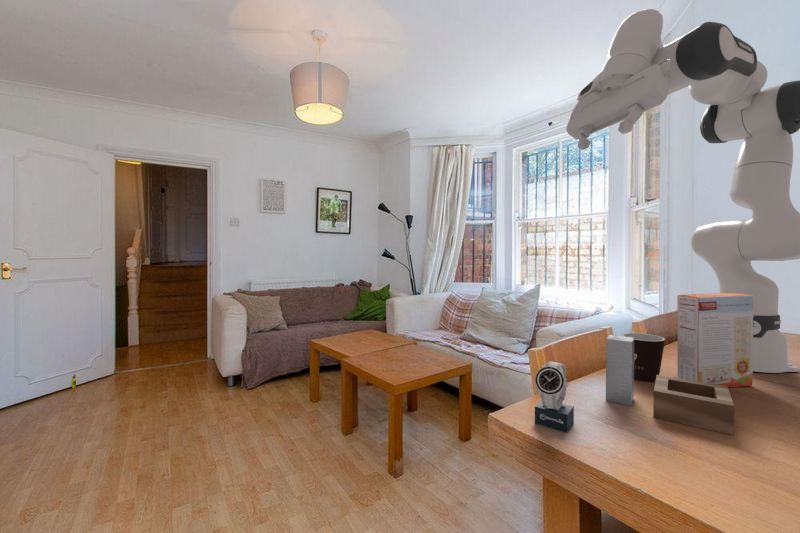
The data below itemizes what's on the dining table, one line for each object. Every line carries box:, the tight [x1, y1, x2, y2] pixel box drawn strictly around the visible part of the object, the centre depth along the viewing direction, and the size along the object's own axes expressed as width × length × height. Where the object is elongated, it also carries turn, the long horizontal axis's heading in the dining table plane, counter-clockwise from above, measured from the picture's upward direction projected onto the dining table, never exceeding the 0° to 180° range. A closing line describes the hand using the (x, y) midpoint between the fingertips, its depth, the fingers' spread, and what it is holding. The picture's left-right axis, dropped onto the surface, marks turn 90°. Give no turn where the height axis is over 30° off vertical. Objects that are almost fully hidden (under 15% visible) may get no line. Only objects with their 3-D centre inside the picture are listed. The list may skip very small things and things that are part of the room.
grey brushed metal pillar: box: [605, 334, 635, 407], centre depth 75 cm, size 4×4×13 cm
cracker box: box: [676, 292, 754, 388], centre depth 83 cm, size 14×6×21 cm, turn 97°
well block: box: [652, 374, 735, 436], centre depth 68 cm, size 11×11×5 cm
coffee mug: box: [621, 332, 666, 383], centre depth 89 cm, size 12×9×10 cm
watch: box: [534, 360, 575, 434], centre depth 65 cm, size 6×8×11 cm
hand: (602, 140), depth 72 cm, fingers open, 8 cm apart
